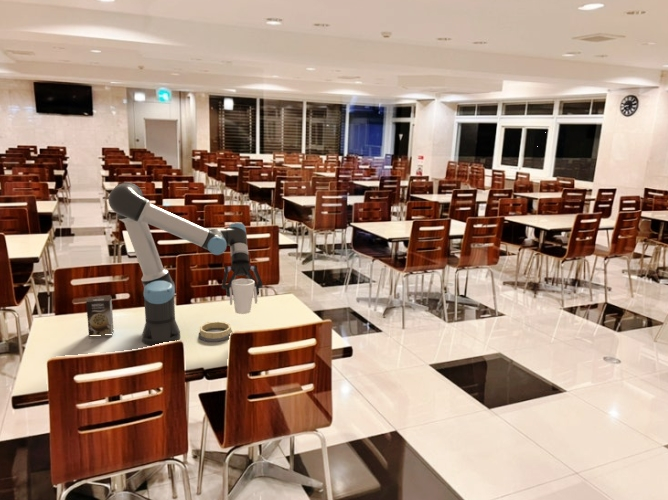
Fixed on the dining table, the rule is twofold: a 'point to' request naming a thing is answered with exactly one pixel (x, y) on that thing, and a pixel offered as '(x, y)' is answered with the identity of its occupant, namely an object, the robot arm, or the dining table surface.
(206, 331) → the collar seat
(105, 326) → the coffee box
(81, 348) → the dining table surface
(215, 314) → the dining table surface
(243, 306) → the foam cup
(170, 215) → the robot arm
